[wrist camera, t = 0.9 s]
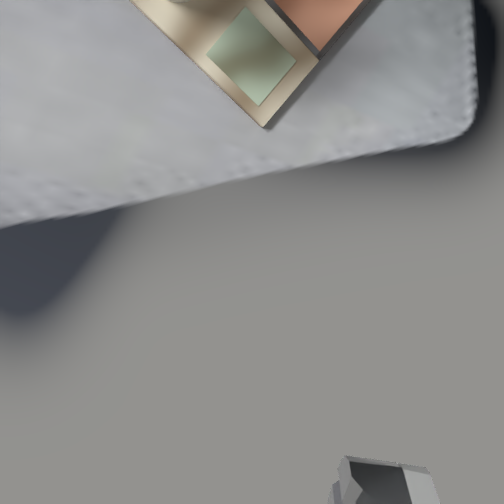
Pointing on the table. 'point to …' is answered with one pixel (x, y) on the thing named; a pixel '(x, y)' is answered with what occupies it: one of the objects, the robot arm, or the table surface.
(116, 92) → the table surface
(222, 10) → the picture board
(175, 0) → the marker
